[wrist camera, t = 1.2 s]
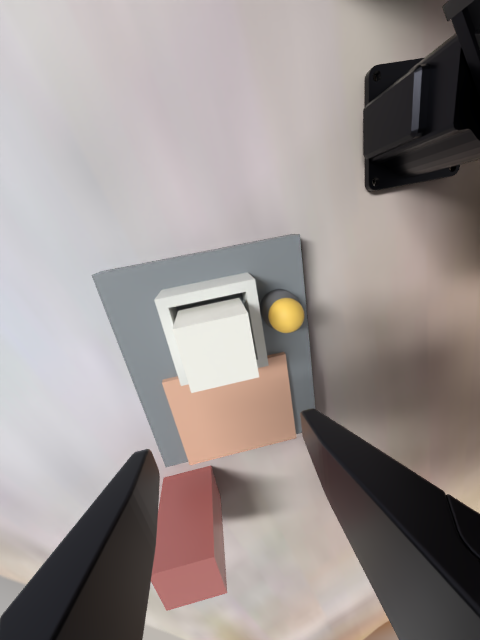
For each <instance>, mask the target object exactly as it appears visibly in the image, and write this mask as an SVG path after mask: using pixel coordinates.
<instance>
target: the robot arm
mask: <svg viewBox="0 0 480 640" xmlns="http://www.w3.org/2000/svg"><path fill="white" fill-rule="evenodd" d="M442 8H443V10H444V13H445V16H446V18H447V21H449V20H450V19H451V20H452V23H453V26H454V29H455V31H456V34H454V35H453V36H452V37H451V38H449V39H448V40H447V41H446V42H444V43H443V44H442V45H440V46H439V47H438V48H437V49H435V50H434V51H433V52H432V53H430V54H429V55H428V56H427V57H425V58H420V59H414V60H407V61H400V62H394V63H387V64H380V65H376V66H374V67H373V68H372V69H371V70H370V71H369V72H368V73H367V74H366V76H365V108H364V111H363V138H364V156H365V187H366V189H367V190H368V191H376V190H381V189H386V188H392V187H397V186H402V185H408V184H413V183H418V182H424V181H429V180H434V179H440V178H445V177H450V176H453V175H455V174H456V173H457V172H458V170H459V167H460V164H463V163H467V162H471V161H474V160H478V159H480V0H449V1H448V2H447V3H446V4H445V5H444V6H443V7H442ZM373 75H375V76H376V78H377V80H376V81H374V80H373ZM450 167H451V170H449V168H450ZM373 179H374V180H375V182H376V183H375V185H374V186H373V184H372V181H373ZM300 418H301V426H302V434H303V438H304V441H305V444H306V446H307V449H308V451H309V454H310V457H311V459H312V462H313V464H314V467H315V469H316V472H317V475H318V477H319V480H320V482H321V485H322V487H323V490H324V492H325V494H326V497H327V499H328V501H329V503H330V505H331V507H332V509H333V511H334V513H335V515H336V517H337V519H338V521H339V523H340V525H341V527H342V529H343V531H344V533H345V535H346V536H347V538H348V540H349V542H350V544H351V546H352V548H353V550H354V552H355V554H356V556H357V558H358V560H359V562H360V564H361V566H362V568H363V570H364V572H365V574H366V576H367V578H368V580H369V582H370V584H371V585H372V587H373V589H374V591H375V593H376V595H377V597H378V599H379V601H380V603H381V605H382V607H383V609H384V611H385V613H386V615H387V617H388V619H389V621H390V623H391V625H392V627H393V628H394V631H395V632H396V634H397V636H398V638H399V640H480V514H479V513H478V512H476V511H474V510H473V509H471V508H470V507H468V506H466V505H465V504H463V503H462V502H460V501H459V500H457V499H455V498H454V497H452V496H451V495H449V494H447V495H446V494H445V492H444V491H443V490H441V489H440V488H438V487H436V486H435V485H433V484H432V483H430V482H429V481H427V480H426V479H424V478H422V477H421V476H419V475H418V474H416V473H415V472H413V471H411V470H410V469H408V468H407V467H405V466H404V465H402V464H401V463H399V462H397V461H396V460H394V459H393V458H391V457H390V456H388V455H386V454H385V453H383V452H382V451H380V450H379V449H377V448H376V447H374V446H372V445H371V444H369V443H368V442H366V441H365V440H363V439H361V438H360V437H358V436H357V435H355V434H354V433H352V432H350V431H349V430H347V429H346V428H344V427H343V426H341V425H340V424H338V423H336V422H335V421H333V420H332V419H330V418H329V417H327V416H325V415H324V414H322V413H321V412H319V411H318V410H316V409H314V408H312V409H307V410H303V411H301V413H300ZM159 481H160V476H159V470H158V467H157V464H156V462H155V459H154V457H153V454H152V452H151V451H150V450H149V449H146V450H142V451H137V452H135V453H134V454H132V456H131V457H130V458H129V459H128V461H127V462H126V463H125V464H124V465H123V467H122V468H121V469H120V470H119V472H118V473H117V474H116V475H115V477H114V478H113V479H112V480H111V481H110V483H109V484H108V485H107V486H106V488H105V489H104V490H103V491H102V493H101V494H100V495H99V496H98V497H97V499H96V500H95V501H94V502H93V504H92V505H91V506H90V507H89V509H88V510H87V511H86V512H85V513H84V515H83V516H82V517H81V518H80V520H79V521H78V522H77V523H76V525H75V526H74V527H73V528H72V529H71V531H70V532H69V533H68V534H67V536H66V537H65V538H64V539H63V541H62V542H61V543H60V544H59V545H58V547H57V548H56V549H55V550H54V552H53V553H52V554H51V555H50V557H49V558H48V559H47V560H46V562H45V563H44V564H43V565H42V566H41V568H40V569H39V570H38V571H37V573H36V574H35V575H34V576H33V578H32V579H31V580H30V581H29V582H28V584H27V585H26V586H25V588H24V589H23V590H22V591H21V592H20V594H19V595H18V596H17V597H16V599H15V600H14V601H13V602H12V603H11V605H10V606H9V607H8V608H7V610H6V611H5V612H4V613H3V615H2V616H1V618H0V640H142V638H143V631H144V624H145V618H146V611H147V604H148V597H149V590H150V583H151V576H152V569H153V562H154V555H155V548H156V537H157V520H158V500H159Z"/></svg>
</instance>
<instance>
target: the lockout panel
mask: <svg viewBox="0 0 480 640" xmlns="http://www.w3.org/2000/svg"><path fill="white" fill-rule="evenodd" d="M92 277H93V280H94V282H95V285H96V288H97V290H98V293H99V295H100V298H101V301H102V303H103V306H104V308H105V311H106V314H107V316H108V319H109V321H110V324H111V326H112V329H113V332H114V334H115V337H116V339H117V342H118V345H119V347H120V350H121V352H122V355H123V357H124V360H125V363H126V365H127V368H128V370H129V373H130V376H131V378H132V381H133V383H134V386H135V389H136V391H137V394H138V396H139V399H140V401H141V404H142V407H143V409H144V412H145V414H146V417H147V420H148V422H149V425H150V427H151V430H152V432H153V435H154V438H155V440H156V443H157V445H158V448H159V451H160V453H161V456H162V458H163V461H164V464H165V466H166V467H169V466H173V465H177V464H181V463H185V462H188V461H189V464H190V465H193V464H197V463H201V462H205V461H209V460H212V459H216V458H220V457H224V456H228V455H232V454H236V453H240V452H244V451H248V450H252V449H255V448H259V447H263V446H267V445H271V444H275V443H279V442H283V441H287V440H291V439H295V438H296V434H298V433H302V426H301V418H300V413H301V411H303V410H307V409H312V408H314V409H315V399H314V388H313V376H312V365H311V354H310V343H309V332H308V321H307V310H306V298H305V287H304V276H303V265H302V254H301V243H300V234H290V235H285V236H280V237H275V238H270V239H265V240H260V241H254V242H249V243H244V244H239V245H234V246H229V247H224V248H219V249H214V250H209V251H203V252H198V253H193V254H188V255H183V256H178V257H173V258H168V259H163V260H158V261H152V262H147V263H142V264H137V265H132V266H127V267H122V268H117V269H112V270H107V271H101V272H99V273H96V274H94V275H92ZM236 298H240V300H241V301H242V303H243V305H244V307H245V309H246V310H247V312H248V316H249V322H250V327H251V333H252V338H253V344H254V350H255V355H256V361H257V367H258V372H259V377H258V378H254V379H250V380H245V381H241V382H237V383H233V384H228V385H224V386H220V387H216V388H211V389H207V390H203V391H199V392H194V393H191V391H190V387H189V384H188V380H187V377H186V374H185V370H184V367H183V364H182V360H181V357H180V353H179V350H178V347H177V343H176V340H175V337H174V333H173V330H172V329H173V326H174V323H175V320H176V316H177V313H178V311H179V310H184V309H188V308H193V307H198V306H202V305H207V304H212V303H217V302H221V301H226V300H231V299H236Z"/></svg>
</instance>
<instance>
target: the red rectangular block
mask: <svg viewBox="0 0 480 640" xmlns="http://www.w3.org/2000/svg"><path fill="white" fill-rule="evenodd" d="M151 582H152V584H153V586H154V588H155V590H156V591H157V593H158V595H159V597H160V599H161V601H162V603H163V605H164V607H165V608H166V610H171V609H174V608H178V607H181V606H184V605H188V604H191V603H195V602H198V601H201V600H205V599H208V598H212V597H215V596H218V595H222V594H225V593H227V584H226V569H225V554H224V539H223V524H222V509H221V497H220V494H219V490H218V487H217V484H216V480H215V477H214V474H213V470H212V467H211V466H208V467H204V468H200V469H196V470H192V471H188V472H184V473H180V474H176V475H173V476H169V477H165V478H164V479H163V485H162V491H161V498H160V504H159V510H158V520H157V537H156V548H155V555H154V562H153V569H152V576H151Z"/></svg>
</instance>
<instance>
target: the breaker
mask: <svg viewBox="0 0 480 640" xmlns="http://www.w3.org/2000/svg"><path fill="white" fill-rule="evenodd" d="M172 330H173V333H174V337H175V340H176V343H177V347H178V350H179V353H180V357H181V360H182V364H183V367H184V370H185V374H186V377H187V380H188V384H189V387H190V391H191V393H194V392H199V391H203V390H207V389H211V388H216V387H220V386H224V385H228V384H233V383H237V382H241V381H245V380H250V379H254V378H258V377H259V372H258V367H257V361H256V355H255V350H254V344H253V338H252V333H251V327H250V322H249V316H248V312H247V310H246V309H245V307H244V305H243V303H242V301H241V300H240V298H236V299H231V300H226V301H221V302H217V303H212V304H207V305H202V306H198V307H193V308H188V309H184V310H179V311H178V313H177V316H176V320H175V323H174V326H173V329H172Z"/></svg>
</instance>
